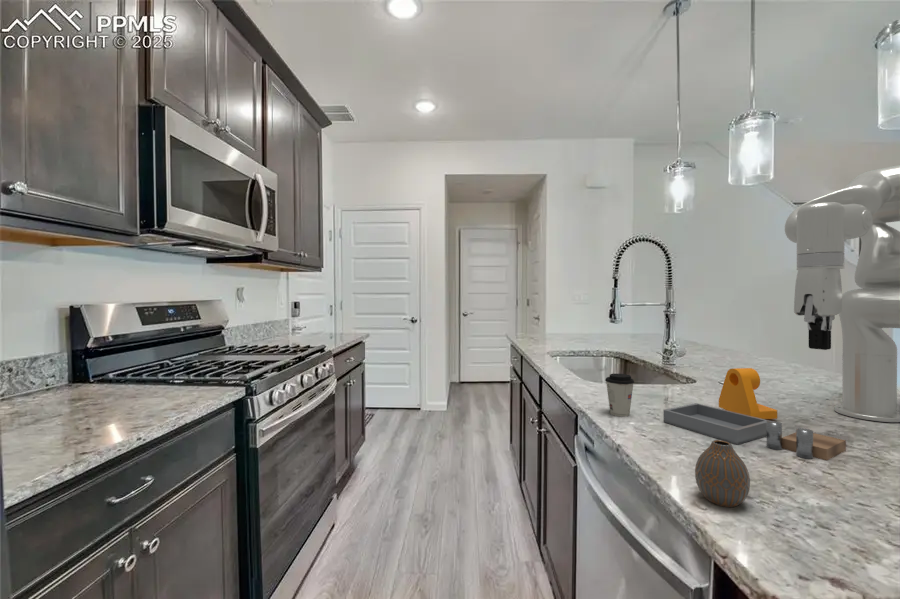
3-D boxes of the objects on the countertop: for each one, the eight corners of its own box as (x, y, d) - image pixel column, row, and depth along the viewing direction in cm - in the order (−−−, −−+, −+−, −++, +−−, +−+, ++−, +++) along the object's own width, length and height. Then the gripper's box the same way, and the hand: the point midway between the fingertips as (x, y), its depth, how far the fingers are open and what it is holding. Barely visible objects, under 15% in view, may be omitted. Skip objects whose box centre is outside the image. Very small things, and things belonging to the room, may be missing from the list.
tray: (696, 414, 104) (696, 403, 104) (771, 434, 89) (771, 421, 89) (663, 422, 98) (663, 409, 98) (737, 444, 84) (737, 430, 83)
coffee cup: (605, 416, 104) (604, 377, 103) (605, 409, 110) (605, 372, 110) (635, 419, 101) (635, 379, 101) (634, 411, 107) (633, 373, 107)
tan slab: (801, 441, 86) (801, 430, 86) (845, 453, 80) (845, 440, 80) (781, 450, 82) (781, 437, 82) (826, 462, 76) (826, 449, 76)
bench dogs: (770, 444, 84) (770, 420, 83) (815, 457, 77) (815, 431, 77) (764, 446, 82) (764, 421, 82) (809, 459, 76) (809, 433, 76)
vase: (684, 490, 65) (684, 435, 65) (725, 488, 65) (725, 433, 65) (717, 514, 58) (716, 452, 58) (762, 511, 58) (762, 450, 58)
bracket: (779, 422, 98) (779, 372, 98) (750, 422, 98) (750, 372, 97) (744, 409, 109) (744, 364, 108) (718, 410, 108) (718, 364, 108)
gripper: (814, 264, 93) (814, 344, 94) (780, 263, 86) (780, 349, 87) (858, 262, 87) (858, 348, 87) (826, 260, 80) (826, 354, 80)
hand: (819, 348), depth 87 cm, fingers closed
